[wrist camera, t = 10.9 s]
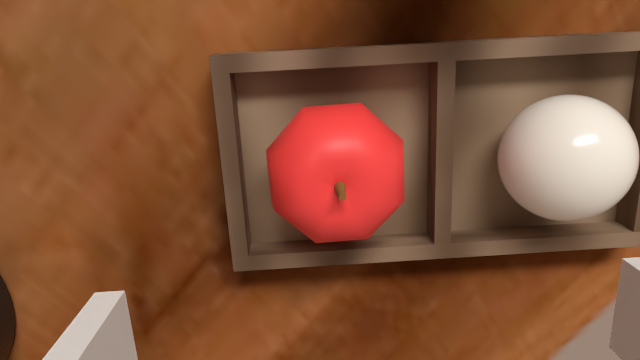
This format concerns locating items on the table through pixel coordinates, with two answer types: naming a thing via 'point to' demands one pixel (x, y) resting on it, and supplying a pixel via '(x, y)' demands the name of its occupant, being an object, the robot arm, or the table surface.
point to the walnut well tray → (421, 141)
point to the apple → (336, 172)
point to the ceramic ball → (568, 157)
